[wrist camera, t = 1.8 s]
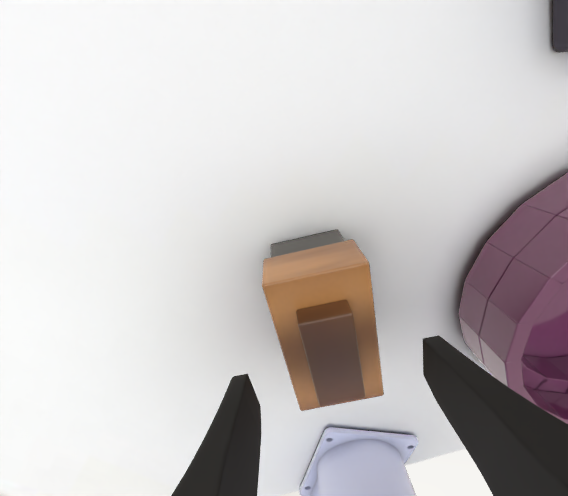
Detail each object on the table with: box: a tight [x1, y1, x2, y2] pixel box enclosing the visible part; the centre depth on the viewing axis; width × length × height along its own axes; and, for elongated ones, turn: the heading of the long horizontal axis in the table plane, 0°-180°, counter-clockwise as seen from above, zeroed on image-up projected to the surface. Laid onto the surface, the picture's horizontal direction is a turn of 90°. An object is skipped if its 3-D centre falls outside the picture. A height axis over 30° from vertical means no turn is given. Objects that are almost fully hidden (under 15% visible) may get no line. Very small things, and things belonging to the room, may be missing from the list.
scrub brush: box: [262, 230, 384, 411], centre depth 14 cm, size 8×4×6 cm, turn 13°
